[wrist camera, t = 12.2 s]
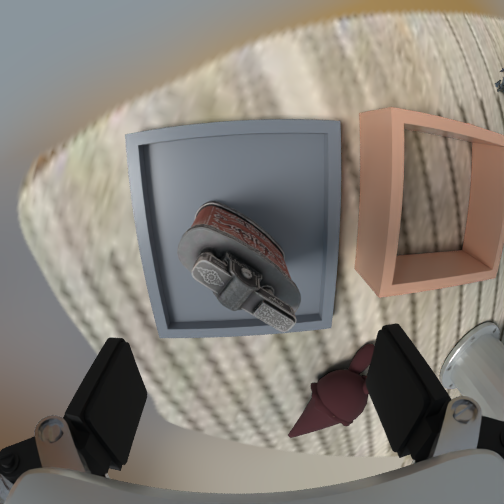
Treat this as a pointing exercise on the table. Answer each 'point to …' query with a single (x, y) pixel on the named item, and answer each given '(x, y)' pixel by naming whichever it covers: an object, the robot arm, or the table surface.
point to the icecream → (336, 396)
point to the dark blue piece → (502, 86)
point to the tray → (246, 202)
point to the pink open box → (390, 206)
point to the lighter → (240, 265)
